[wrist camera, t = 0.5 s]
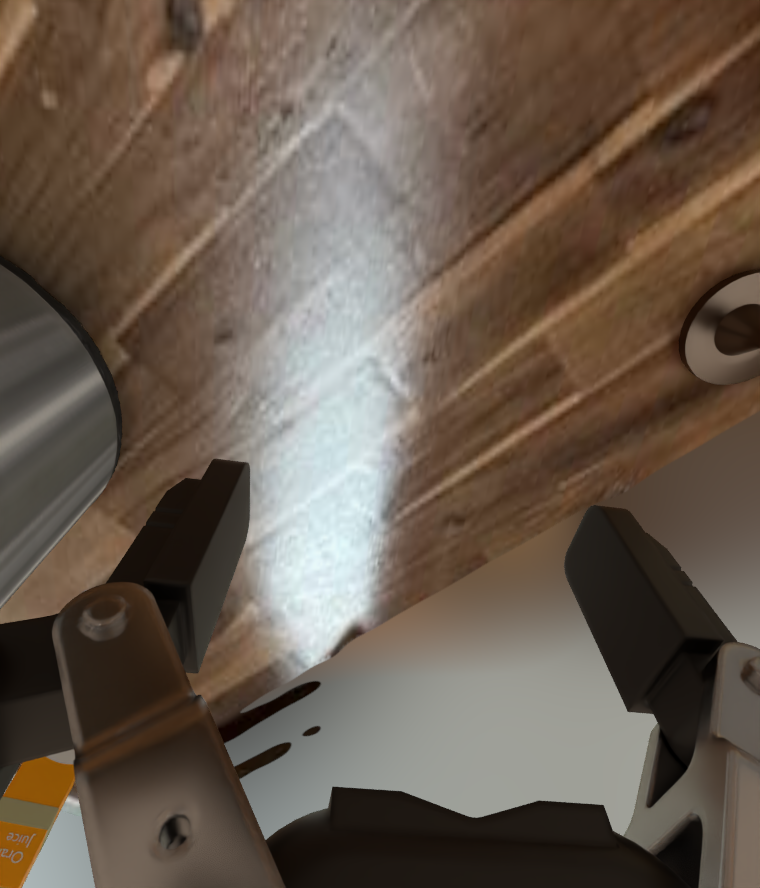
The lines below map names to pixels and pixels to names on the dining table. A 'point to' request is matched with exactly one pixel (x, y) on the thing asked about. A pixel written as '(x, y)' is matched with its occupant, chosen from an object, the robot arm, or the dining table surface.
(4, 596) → the pressure cooker
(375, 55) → the dining table surface
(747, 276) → the candlestick
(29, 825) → the orange juice
